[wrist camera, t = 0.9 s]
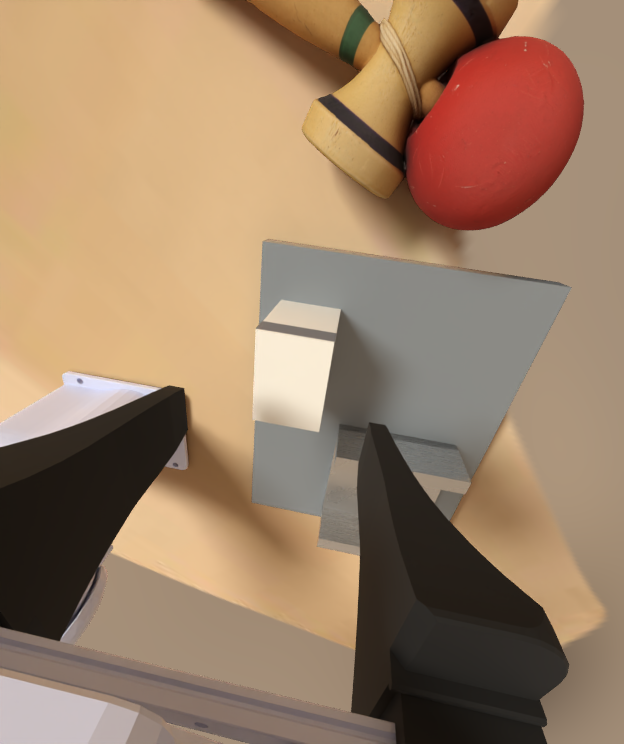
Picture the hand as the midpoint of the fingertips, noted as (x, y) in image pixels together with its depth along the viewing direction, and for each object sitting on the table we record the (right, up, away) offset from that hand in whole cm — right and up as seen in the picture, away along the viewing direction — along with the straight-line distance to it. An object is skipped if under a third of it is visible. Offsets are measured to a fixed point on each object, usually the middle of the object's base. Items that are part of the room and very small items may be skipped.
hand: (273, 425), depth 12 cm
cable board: (+6, -1, +10) cm, 12 cm away
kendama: (+4, +16, +2) cm, 16 cm away
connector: (+1, +4, +7) cm, 8 cm away
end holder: (+7, -6, +12) cm, 15 cm away
